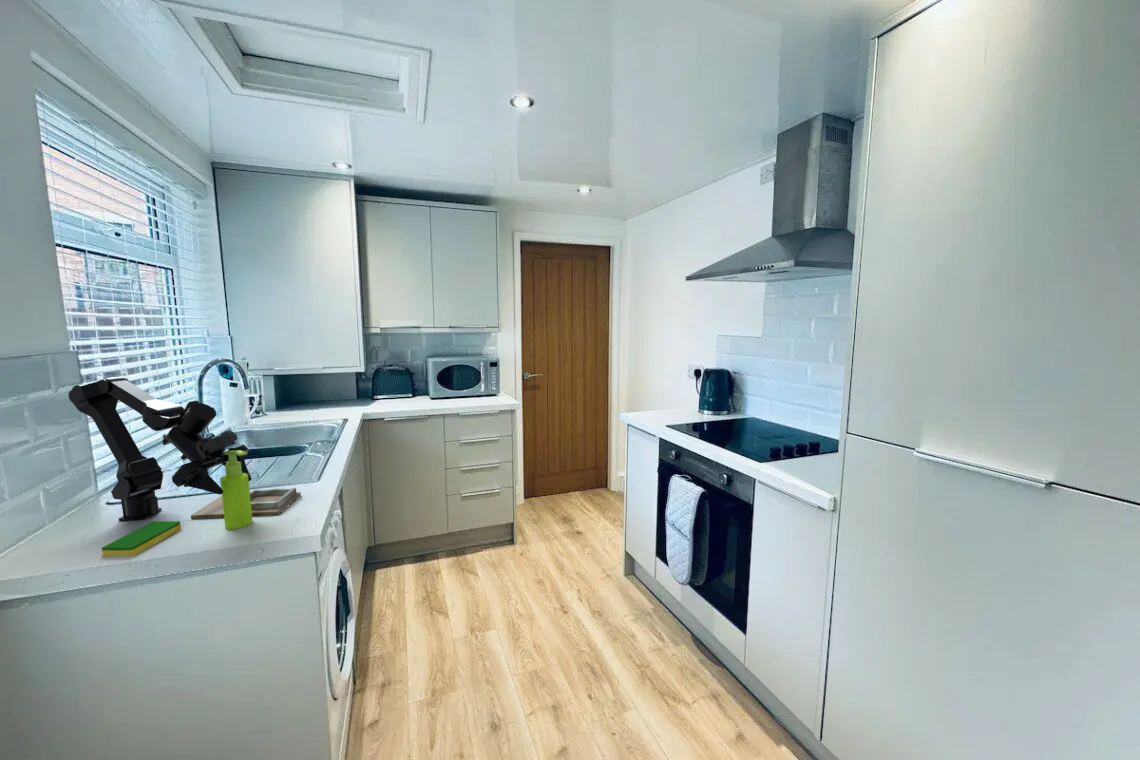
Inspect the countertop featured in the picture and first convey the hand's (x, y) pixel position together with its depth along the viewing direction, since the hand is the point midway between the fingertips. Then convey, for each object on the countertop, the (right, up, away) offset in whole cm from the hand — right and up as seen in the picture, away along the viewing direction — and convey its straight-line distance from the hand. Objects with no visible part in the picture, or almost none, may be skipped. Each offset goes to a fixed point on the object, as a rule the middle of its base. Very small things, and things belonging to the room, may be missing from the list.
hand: (236, 486), depth 120 cm
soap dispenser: (0, -10, +2) cm, 11 cm away
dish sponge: (-17, -12, -8) cm, 22 cm away
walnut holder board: (-6, -9, +13) cm, 16 cm away
